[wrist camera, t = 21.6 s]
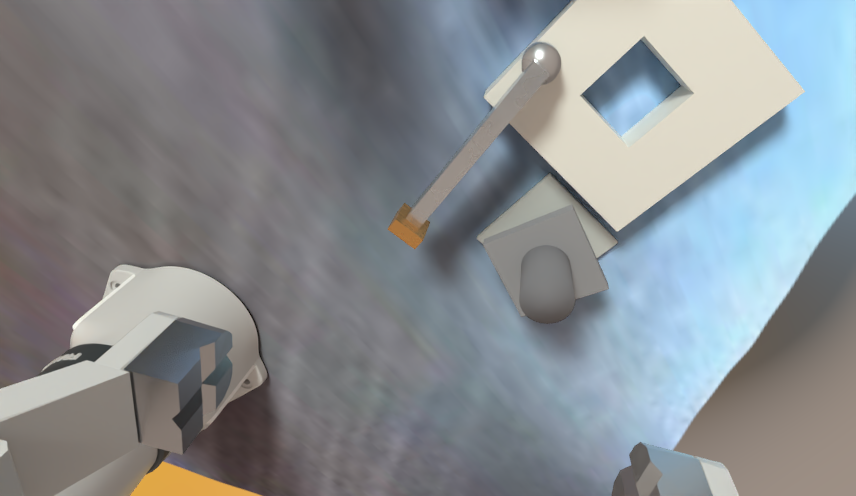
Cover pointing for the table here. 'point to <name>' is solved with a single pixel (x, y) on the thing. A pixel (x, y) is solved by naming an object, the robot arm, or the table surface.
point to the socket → (668, 122)
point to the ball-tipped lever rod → (478, 141)
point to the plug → (546, 265)
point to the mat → (547, 200)
